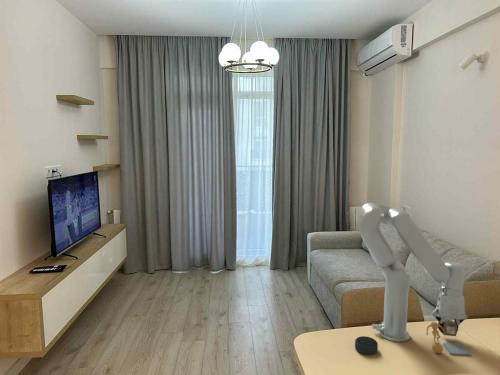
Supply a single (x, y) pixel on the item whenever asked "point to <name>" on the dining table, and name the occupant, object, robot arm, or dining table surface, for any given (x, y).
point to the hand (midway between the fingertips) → (447, 331)
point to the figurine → (436, 346)
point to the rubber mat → (457, 349)
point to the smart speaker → (366, 345)
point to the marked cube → (449, 327)
